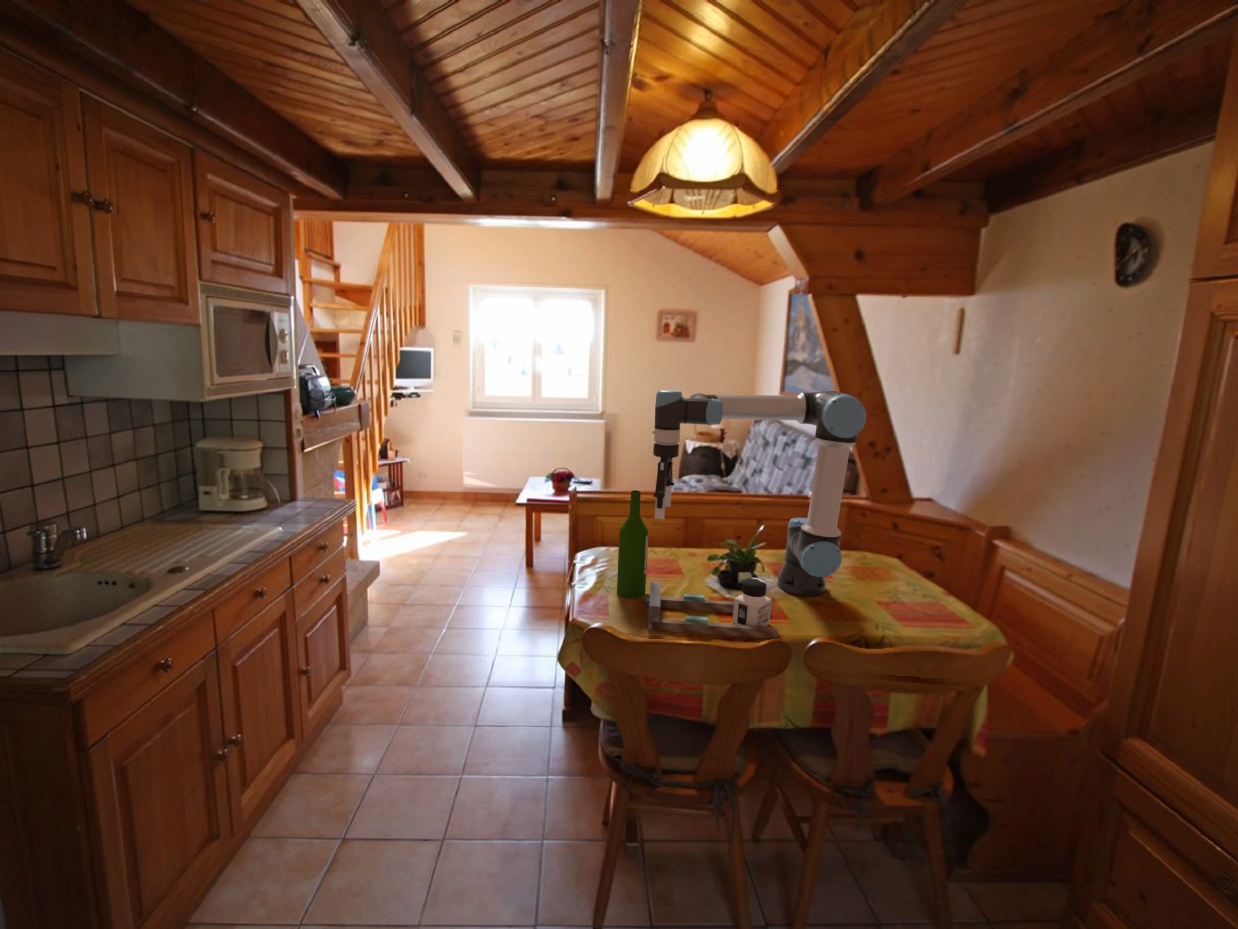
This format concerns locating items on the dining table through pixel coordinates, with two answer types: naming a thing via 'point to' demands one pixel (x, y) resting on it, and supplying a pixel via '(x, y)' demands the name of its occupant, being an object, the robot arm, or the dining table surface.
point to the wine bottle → (632, 552)
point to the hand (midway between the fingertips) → (662, 512)
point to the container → (752, 604)
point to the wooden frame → (698, 623)
